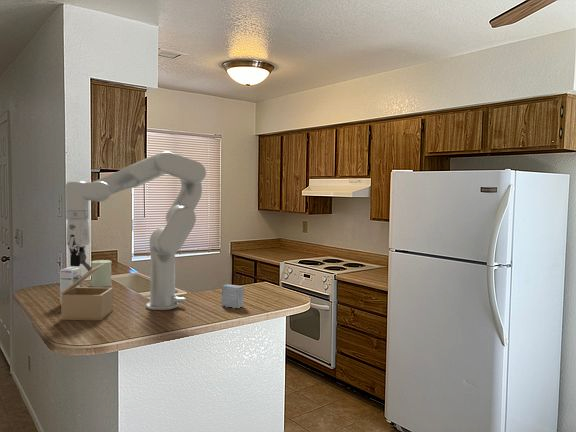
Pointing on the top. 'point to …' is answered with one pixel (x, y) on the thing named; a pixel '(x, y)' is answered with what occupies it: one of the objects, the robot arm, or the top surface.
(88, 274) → the lid
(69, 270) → the syrup box
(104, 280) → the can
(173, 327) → the top surface
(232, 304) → the medicine box
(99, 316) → the wooden box
